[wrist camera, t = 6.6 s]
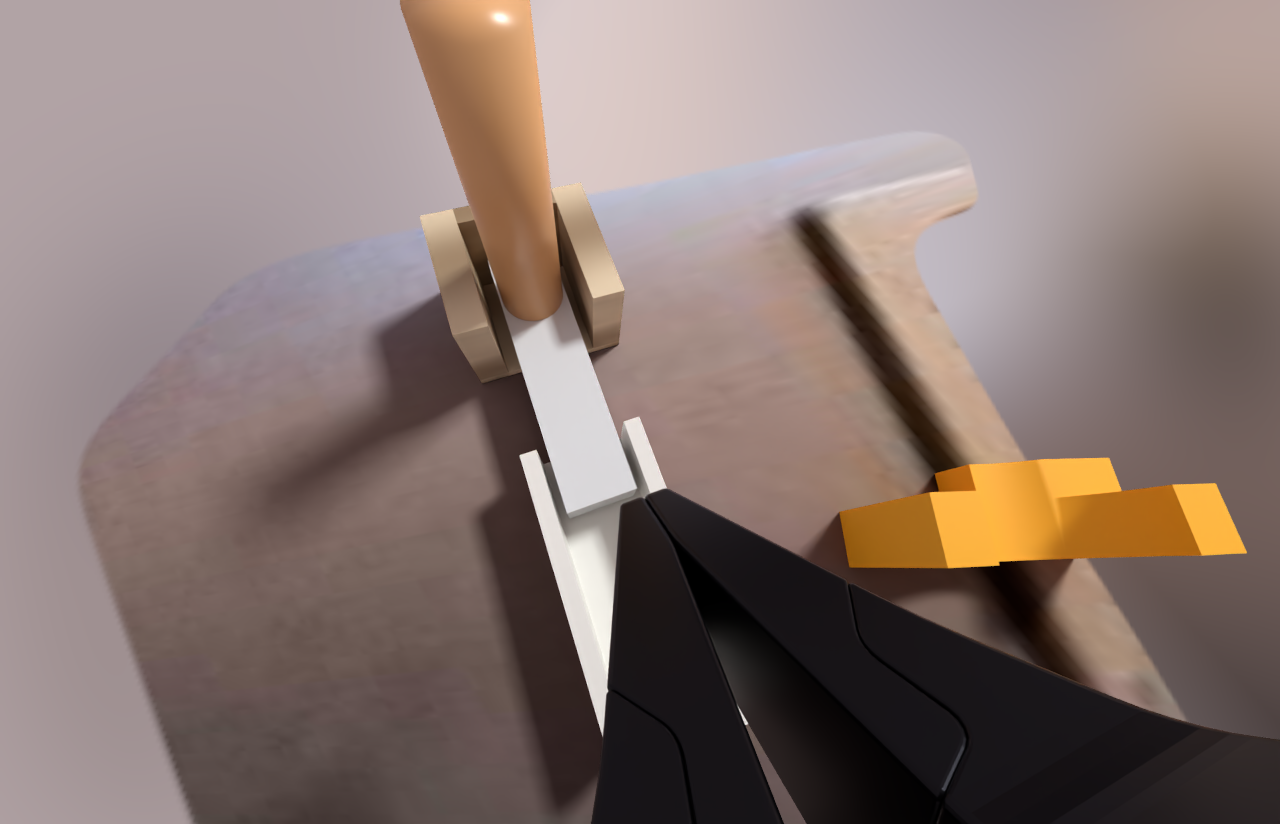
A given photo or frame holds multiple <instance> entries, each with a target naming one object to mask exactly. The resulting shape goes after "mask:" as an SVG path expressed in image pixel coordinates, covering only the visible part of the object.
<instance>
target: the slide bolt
mask: <svg viewBox="0 0 1280 824" xmlns="http://www.w3.org/2000/svg"><path fill="white" fill-rule="evenodd" d="M400 5H401V10H402V13H403V15H404V18H405V21H406V24H407V27H408V30H409V33H410V36H411V39H412V42H413V44H414V47H415V50H416V53H417V56H418V59H419V62H420V64H421V67H422V70H423V73H424V76H425V79H426V82H427V85H428V88H429V90H430V93H431V96H432V99H433V102H434V105H435V108H436V111H437V113H438V117H439V119H440V122H441V125H442V128H443V131H444V134H445V137H446V140H447V143H448V145H449V148H450V151H451V154H452V157H453V160H454V163H455V166H456V168H457V171H458V174H459V177H460V180H461V183H462V186H463V188H464V192H465V194H466V197H467V200H468V203H469V206H470V209H471V212H472V215H473V218H474V220H475V223H476V226H477V229H478V232H479V235H480V238H481V241H482V243H483V246H484V249H485V252H486V255H487V258H488V260H487V261H488V264H489V267H490V270H491V274H492V277H493V280H494V283H495V286H496V289H497V293H498V296H499V299H500V302H501V305H502V309H503V312H504V315H505V318H506V321H507V324H508V328H509V331H510V334H511V337H512V340H513V343H514V347H515V350H516V353H517V356H518V359H519V363H520V366H521V369H522V372H523V375H524V378H525V382H526V385H527V388H528V391H529V394H530V398H531V401H532V404H533V407H534V410H535V413H536V417H537V420H538V423H539V426H540V429H541V432H542V436H543V439H544V442H545V445H546V448H547V452H548V455H549V458H550V461H551V464H552V467H553V471H554V474H555V477H556V480H557V483H558V486H559V490H560V493H561V496H562V499H563V502H564V506H565V509H566V512H567V514H568V516H569V518H573V517H576V516H579V515H581V514H584V513H587V512H590V511H593V510H595V509H598V508H601V507H604V506H607V505H609V504H612V503H615V502H618V501H620V500H623V499H626V498H629V497H632V496H633V495H634V493H635V491H636V490H637V487H636V484H635V481H634V478H633V476H632V473H631V470H630V467H629V465H628V462H627V459H626V456H625V454H624V451H623V448H622V445H621V443H620V440H619V437H618V434H617V432H616V429H615V426H614V423H613V421H612V418H611V415H610V412H609V410H608V407H607V404H606V401H605V399H604V396H603V393H602V390H601V388H600V385H599V382H598V379H597V377H596V374H595V371H594V368H593V366H592V363H591V360H590V357H589V355H588V352H587V349H586V346H585V344H584V341H583V338H582V336H581V333H580V330H579V327H578V325H577V322H576V319H575V316H574V314H573V311H572V308H571V305H570V303H569V300H568V297H567V294H566V292H565V289H564V286H563V283H562V280H561V272H560V263H559V254H558V245H557V236H556V228H555V219H554V210H553V201H552V192H551V184H550V175H549V166H548V157H547V149H546V140H545V131H544V122H543V113H542V104H541V96H540V87H539V78H538V69H537V60H536V51H535V42H534V34H533V25H532V16H531V7H530V0H400Z"/></svg>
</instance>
